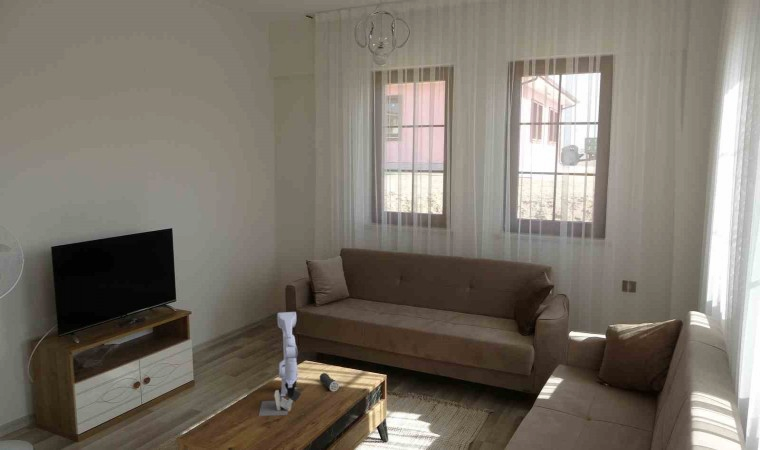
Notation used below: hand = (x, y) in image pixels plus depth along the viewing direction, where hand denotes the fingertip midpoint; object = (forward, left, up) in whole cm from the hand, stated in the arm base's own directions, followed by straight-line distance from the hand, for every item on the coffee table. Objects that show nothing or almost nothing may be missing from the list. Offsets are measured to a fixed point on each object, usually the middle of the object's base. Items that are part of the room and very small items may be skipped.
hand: (291, 395), depth 286 cm
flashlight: (-26, +19, -7) cm, 33 cm away
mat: (0, -8, -7) cm, 11 cm away
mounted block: (0, +2, -3) cm, 4 cm away
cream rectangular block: (0, -6, -6) cm, 9 cm away
